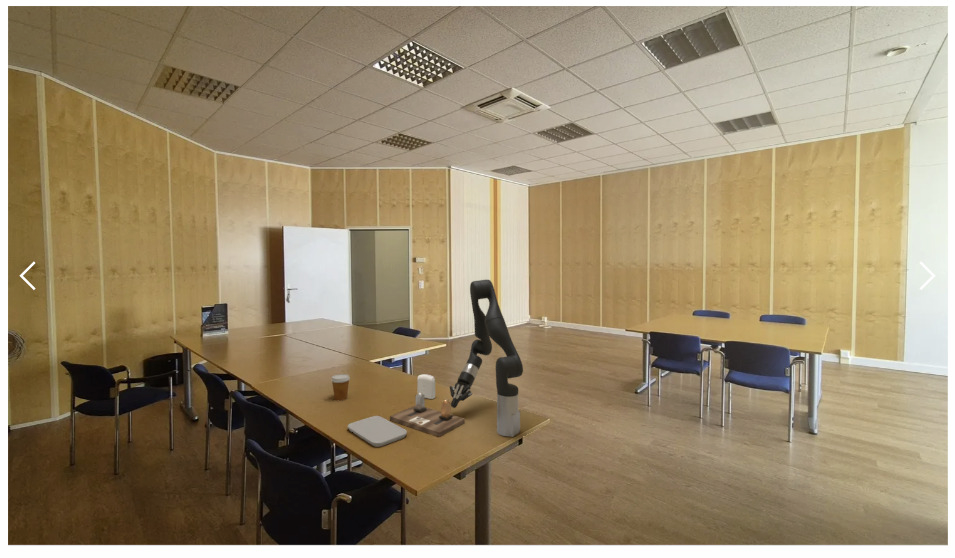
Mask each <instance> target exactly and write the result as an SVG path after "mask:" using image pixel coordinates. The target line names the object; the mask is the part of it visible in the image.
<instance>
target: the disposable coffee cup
mask: <svg viewBox="0 0 955 558" xmlns="http://www.w3.org/2000/svg"><path fill="white" fill-rule="evenodd" d="M350 380H351V377H350V375H349V374H345V373H340V374H334V375H332V376H331V379H330V381H331V384H332V388H333V389H332V390H333V396H334V400H335V401H344V399H345V400H347V399H348V393H349V383H350ZM346 398H347V399H346Z"/></svg>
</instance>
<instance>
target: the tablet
mask: <svg viewBox="0 0 955 558" xmlns="http://www.w3.org/2000/svg"><path fill="white" fill-rule="evenodd" d="M347 429H349V432H351V433H352V432H353V433H352V434H354V435H355V436H357V437H359V438H360V439H362V440H363V441H364V442H366V443H368V444H369V445H371V446H373V447H376V448H378V447H383V446H386V445H388V444H391V443H394V442H397V441H399V440H402V439H405V437H406V435H407V434H408V431H407V430H406V429H404V428H403V427H401V426H399V425H397V424H396V423H395V422H393V421H390V420H387V419H386V418H384V417H382V416H380V415H373V416H370V417H367V418H363V419H360V420H357V421H354V422H351V423H348V425H347Z"/></svg>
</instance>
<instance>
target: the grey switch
mask: <svg viewBox="0 0 955 558" xmlns="http://www.w3.org/2000/svg"><path fill="white" fill-rule="evenodd" d="M425 399H426V398H425V395H424V394H423V393H422V392H419V393H418V392H417V394H416V395H415V405H416V408H414V411H417V412H423V411H425V410H427V408H428V407H427V406H426V405H425ZM426 407H427V408H426Z"/></svg>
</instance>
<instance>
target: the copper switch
mask: <svg viewBox="0 0 955 558" xmlns="http://www.w3.org/2000/svg"><path fill="white" fill-rule="evenodd" d="M451 402H452V400H450V401H449V399H448V398H445V399H443V401H441V408H440V412H441V415H440V416H439V418H440V419H443V420H449V419H450V418H452V417H453V414H451V408H452V407H451Z"/></svg>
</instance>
